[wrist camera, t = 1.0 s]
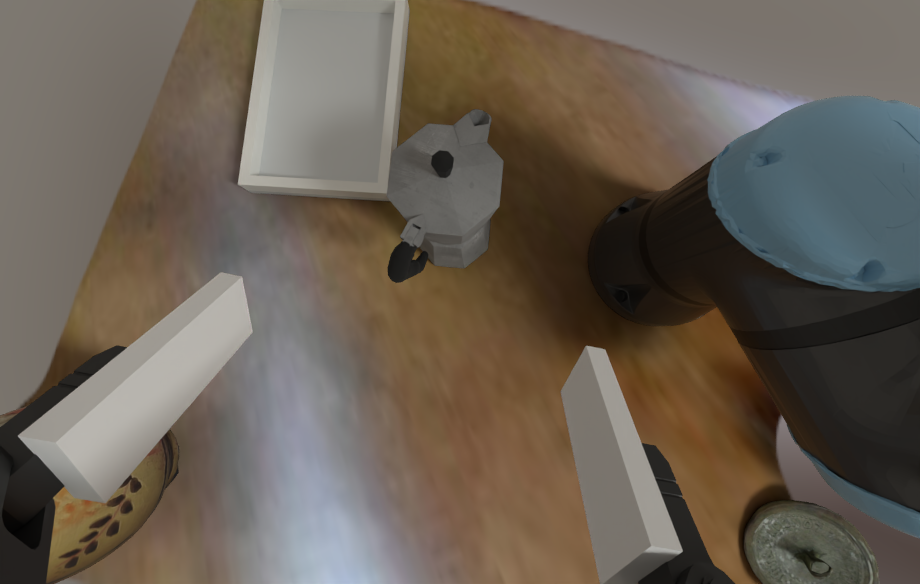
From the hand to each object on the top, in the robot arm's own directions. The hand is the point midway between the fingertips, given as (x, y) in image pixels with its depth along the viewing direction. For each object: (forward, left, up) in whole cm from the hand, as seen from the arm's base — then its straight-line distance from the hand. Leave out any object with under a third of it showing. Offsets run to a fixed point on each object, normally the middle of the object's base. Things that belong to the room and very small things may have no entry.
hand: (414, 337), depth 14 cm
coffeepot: (+1, -11, -27) cm, 29 cm away
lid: (-38, +20, -27) cm, 51 cm away
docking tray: (+17, -28, -27) cm, 42 cm away
